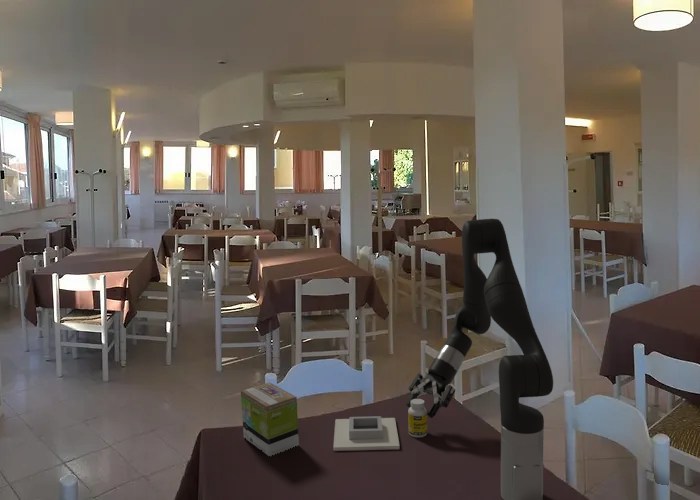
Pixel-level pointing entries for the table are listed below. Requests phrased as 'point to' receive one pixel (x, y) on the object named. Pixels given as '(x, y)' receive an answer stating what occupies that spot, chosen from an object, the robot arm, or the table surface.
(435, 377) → the robot arm
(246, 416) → the tea box
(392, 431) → the socket dock
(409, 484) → the table surface
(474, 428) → the table surface
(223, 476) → the table surface
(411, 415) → the supplement bottle
